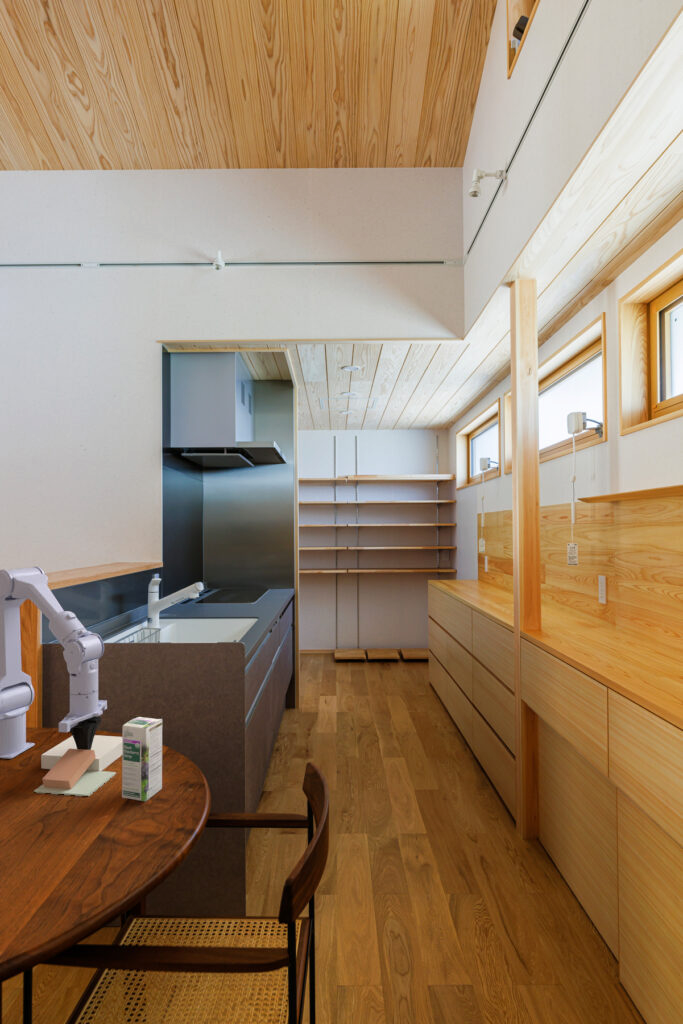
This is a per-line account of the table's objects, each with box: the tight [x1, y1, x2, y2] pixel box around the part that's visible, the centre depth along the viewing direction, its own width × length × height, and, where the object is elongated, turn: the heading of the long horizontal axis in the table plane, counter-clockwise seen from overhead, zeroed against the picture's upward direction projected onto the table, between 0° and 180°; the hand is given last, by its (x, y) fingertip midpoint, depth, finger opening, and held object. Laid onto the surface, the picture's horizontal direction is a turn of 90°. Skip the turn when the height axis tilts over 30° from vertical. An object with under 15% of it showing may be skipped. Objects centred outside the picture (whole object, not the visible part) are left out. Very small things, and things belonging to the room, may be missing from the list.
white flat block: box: [40, 734, 122, 771], centre depth 129 cm, size 14×12×3 cm
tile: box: [41, 749, 96, 789], centre depth 118 cm, size 6×9×2 cm, turn 171°
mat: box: [33, 770, 117, 797], centre depth 117 cm, size 12×10×1 cm
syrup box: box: [121, 716, 163, 803], centre depth 113 cm, size 6×6×14 cm
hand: (84, 752), depth 123 cm, fingers closed
